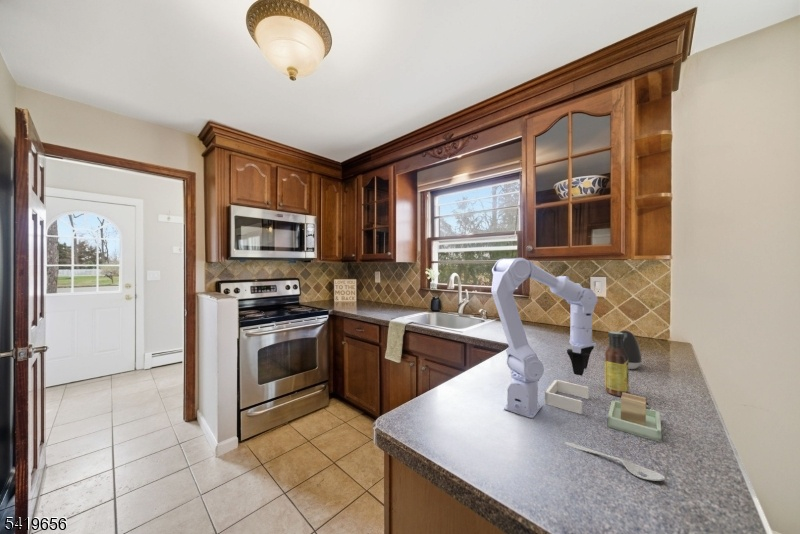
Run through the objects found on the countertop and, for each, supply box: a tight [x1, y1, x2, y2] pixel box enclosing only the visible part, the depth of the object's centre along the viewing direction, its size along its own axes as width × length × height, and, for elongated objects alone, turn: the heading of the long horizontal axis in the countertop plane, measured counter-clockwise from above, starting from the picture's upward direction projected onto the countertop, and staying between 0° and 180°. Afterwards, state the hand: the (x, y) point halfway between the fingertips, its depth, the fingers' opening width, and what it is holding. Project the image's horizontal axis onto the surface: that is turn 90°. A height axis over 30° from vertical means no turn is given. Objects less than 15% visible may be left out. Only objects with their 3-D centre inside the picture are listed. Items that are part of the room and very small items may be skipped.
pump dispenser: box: [619, 330, 643, 370], centre depth 120 cm, size 10×10×15 cm
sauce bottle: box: [604, 331, 630, 397], centre depth 96 cm, size 7×6×20 cm
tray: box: [607, 399, 662, 443], centre depth 77 cm, size 13×10×2 cm
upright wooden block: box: [620, 392, 652, 426], centre depth 77 cm, size 4×6×6 cm
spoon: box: [563, 441, 666, 482], centre depth 64 cm, size 4×21×2 cm, turn 42°
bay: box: [544, 379, 590, 415], centre depth 90 cm, size 13×10×4 cm
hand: (580, 371), depth 89 cm, fingers open, 7 cm apart
